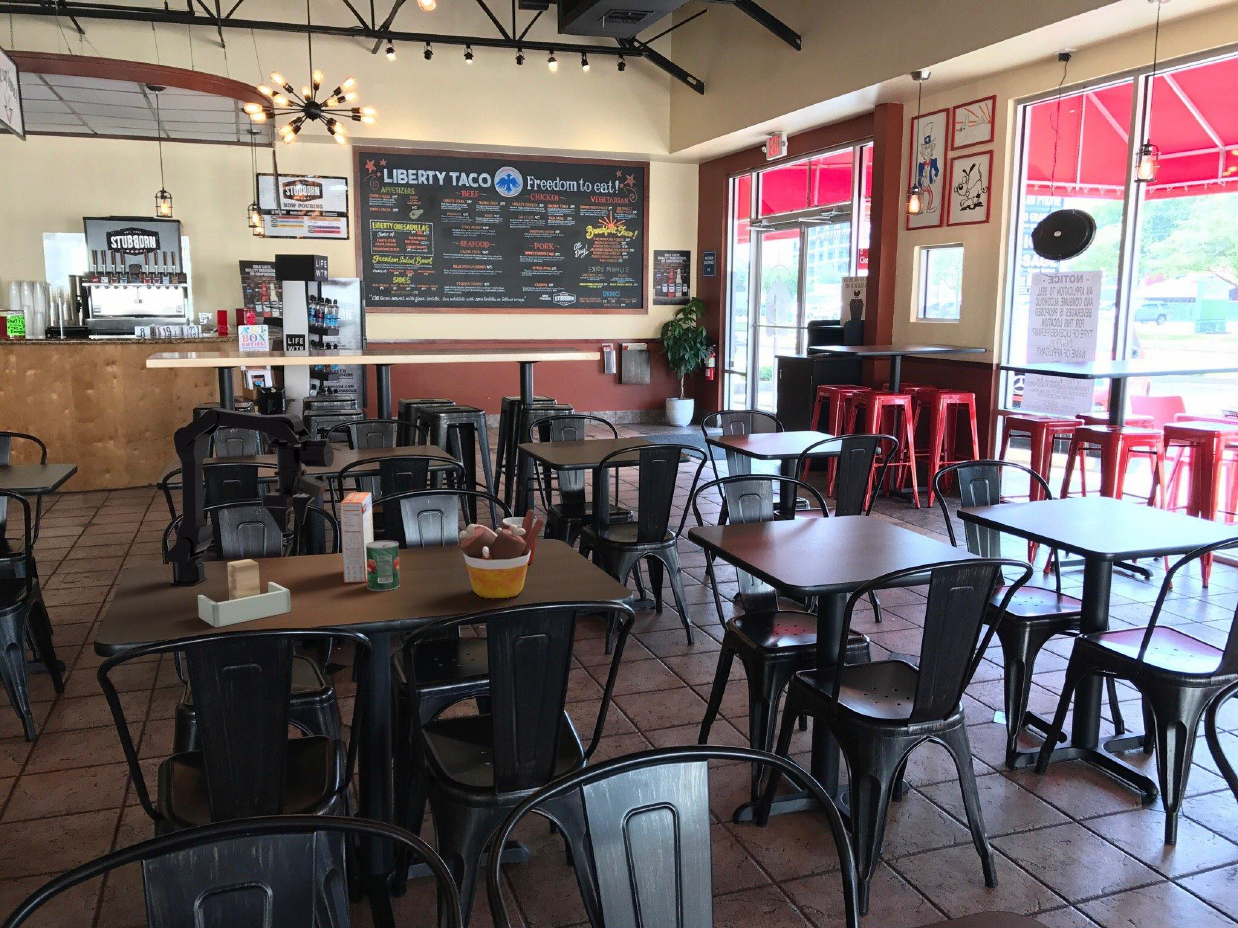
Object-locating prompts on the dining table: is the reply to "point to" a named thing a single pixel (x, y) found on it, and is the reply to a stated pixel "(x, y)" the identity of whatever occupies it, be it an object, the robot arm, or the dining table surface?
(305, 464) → the robot arm
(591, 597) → the dining table surface
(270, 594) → the open-side box
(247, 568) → the maple block
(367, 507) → the cracker box
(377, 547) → the canned tomato
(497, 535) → the bucket of meat
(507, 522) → the plastic cup
